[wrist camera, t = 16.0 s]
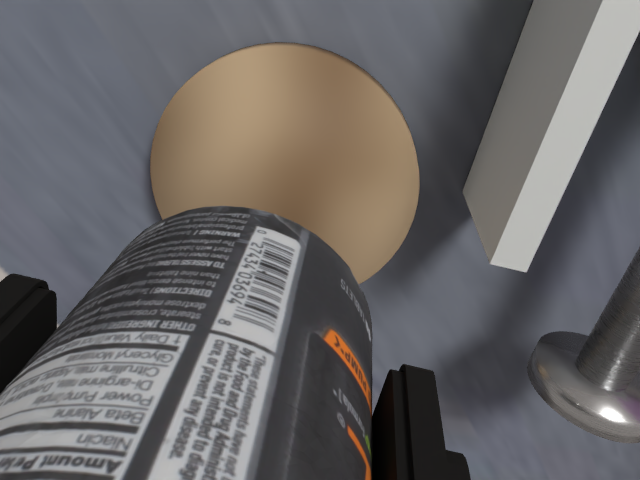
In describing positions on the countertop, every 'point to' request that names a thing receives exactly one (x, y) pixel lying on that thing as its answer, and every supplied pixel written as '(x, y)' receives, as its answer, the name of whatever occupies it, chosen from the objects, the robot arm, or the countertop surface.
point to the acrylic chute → (545, 120)
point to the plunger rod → (597, 367)
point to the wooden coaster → (292, 149)
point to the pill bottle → (202, 363)
